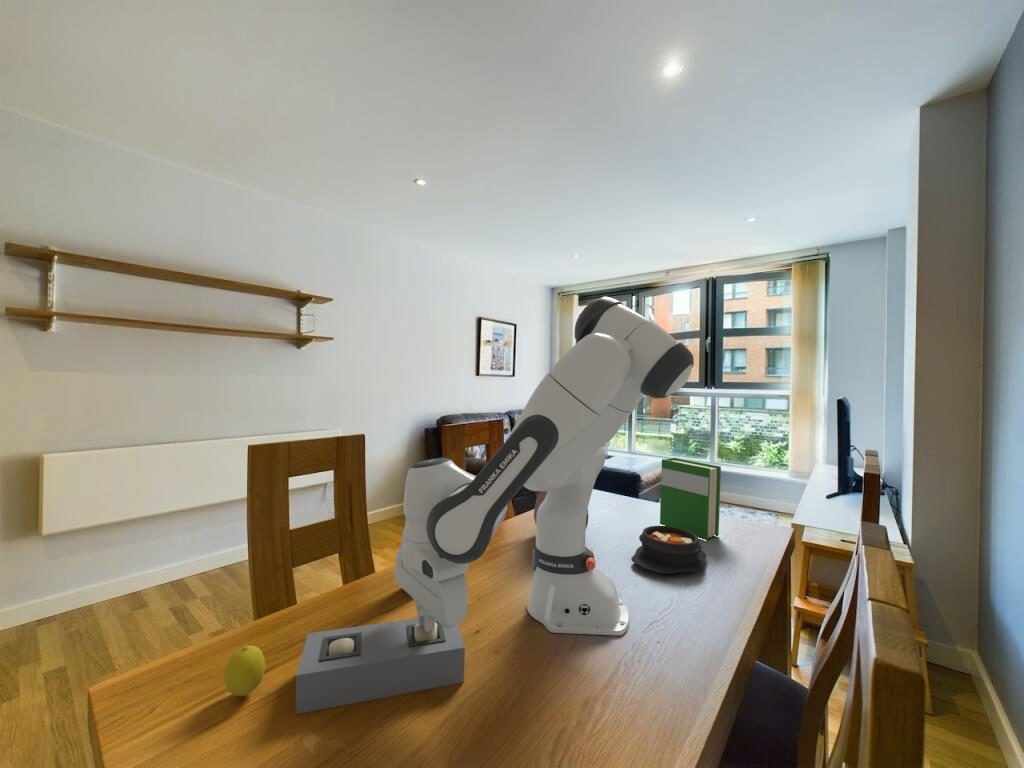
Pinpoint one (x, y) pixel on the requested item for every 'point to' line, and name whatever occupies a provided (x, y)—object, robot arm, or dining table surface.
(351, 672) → the peg block
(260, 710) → the dining table surface
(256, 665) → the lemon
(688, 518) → the hardback book
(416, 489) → the robot arm
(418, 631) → the peg inner
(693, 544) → the casserole
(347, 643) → the peg outer
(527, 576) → the dining table surface
